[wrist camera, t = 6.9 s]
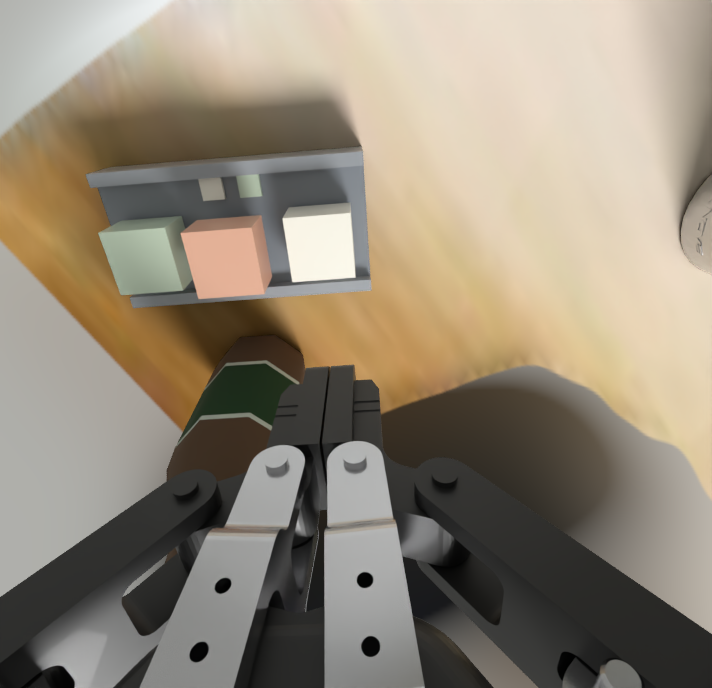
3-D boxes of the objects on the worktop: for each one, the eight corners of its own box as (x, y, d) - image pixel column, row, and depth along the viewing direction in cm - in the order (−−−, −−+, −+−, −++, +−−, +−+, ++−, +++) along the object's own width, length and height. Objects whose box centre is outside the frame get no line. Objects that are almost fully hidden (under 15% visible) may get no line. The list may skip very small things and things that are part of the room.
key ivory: (350, 202, 28) (350, 212, 25) (354, 262, 30) (355, 277, 27) (288, 207, 28) (282, 218, 25) (297, 266, 30) (292, 282, 27)
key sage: (181, 215, 28) (164, 227, 26) (197, 273, 30) (182, 290, 28) (121, 220, 28) (98, 232, 26) (140, 278, 30) (121, 295, 28)
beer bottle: (297, 414, 40) (240, 759, 19) (212, 393, 39) (51, 738, 18) (321, 344, 36) (282, 674, 16) (228, 318, 35) (50, 640, 14)
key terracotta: (261, 215, 27) (251, 227, 24) (272, 276, 29) (264, 294, 26) (196, 220, 27) (180, 233, 24) (212, 281, 29) (198, 299, 26)
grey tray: (361, 146, 29) (363, 154, 25) (369, 273, 33) (372, 300, 29) (111, 166, 29) (69, 178, 25) (151, 290, 34) (122, 318, 29)
